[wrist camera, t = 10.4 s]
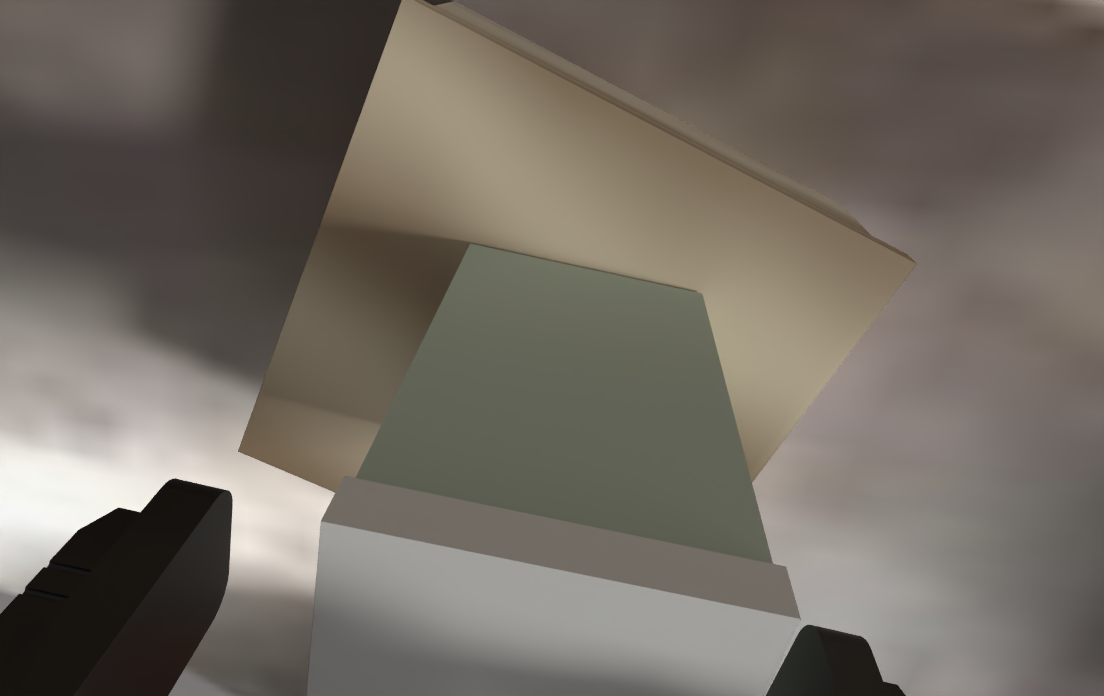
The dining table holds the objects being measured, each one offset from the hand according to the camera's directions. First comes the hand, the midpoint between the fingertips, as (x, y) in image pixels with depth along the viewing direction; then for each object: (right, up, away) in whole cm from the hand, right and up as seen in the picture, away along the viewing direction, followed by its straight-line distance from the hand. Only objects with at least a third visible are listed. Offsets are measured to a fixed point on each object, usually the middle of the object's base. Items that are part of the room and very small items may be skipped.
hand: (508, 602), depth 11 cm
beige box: (+1, +5, +11) cm, 13 cm away
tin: (+1, +3, +7) cm, 7 cm away
